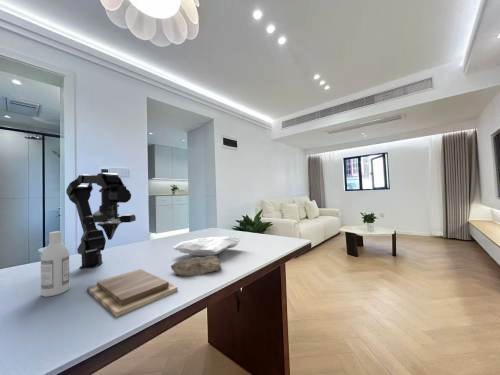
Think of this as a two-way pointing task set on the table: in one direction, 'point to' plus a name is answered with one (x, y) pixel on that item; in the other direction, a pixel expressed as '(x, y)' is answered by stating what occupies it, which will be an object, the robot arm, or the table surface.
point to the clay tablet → (196, 266)
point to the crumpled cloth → (207, 245)
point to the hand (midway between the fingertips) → (110, 239)
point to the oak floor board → (120, 310)
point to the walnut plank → (132, 286)
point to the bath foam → (54, 267)
